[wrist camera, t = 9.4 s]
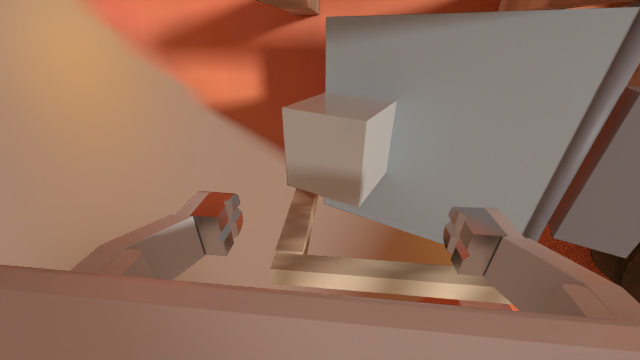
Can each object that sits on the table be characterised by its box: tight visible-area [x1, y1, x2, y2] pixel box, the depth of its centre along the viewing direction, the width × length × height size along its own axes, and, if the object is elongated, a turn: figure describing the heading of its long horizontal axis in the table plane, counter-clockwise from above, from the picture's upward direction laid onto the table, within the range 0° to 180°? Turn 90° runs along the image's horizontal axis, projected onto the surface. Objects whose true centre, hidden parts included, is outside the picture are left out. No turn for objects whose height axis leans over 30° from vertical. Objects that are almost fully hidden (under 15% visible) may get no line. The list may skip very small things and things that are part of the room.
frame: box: [257, 0, 635, 304], centre depth 18 cm, size 18×19×14 cm
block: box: [282, 92, 396, 208], centre depth 16 cm, size 5×5×5 cm
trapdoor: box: [324, 1, 640, 258], centre depth 16 cm, size 18×14×2 cm
